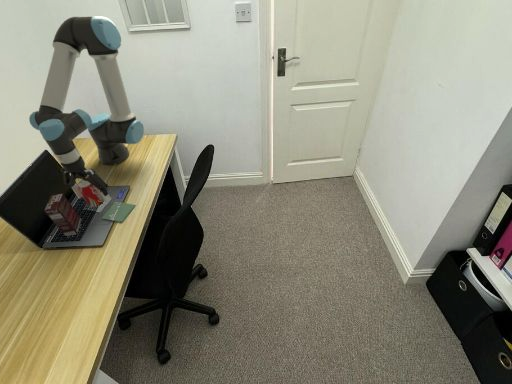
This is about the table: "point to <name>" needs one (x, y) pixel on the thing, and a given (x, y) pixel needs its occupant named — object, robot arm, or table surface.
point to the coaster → (119, 211)
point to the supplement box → (63, 214)
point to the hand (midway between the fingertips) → (94, 198)
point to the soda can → (90, 193)
